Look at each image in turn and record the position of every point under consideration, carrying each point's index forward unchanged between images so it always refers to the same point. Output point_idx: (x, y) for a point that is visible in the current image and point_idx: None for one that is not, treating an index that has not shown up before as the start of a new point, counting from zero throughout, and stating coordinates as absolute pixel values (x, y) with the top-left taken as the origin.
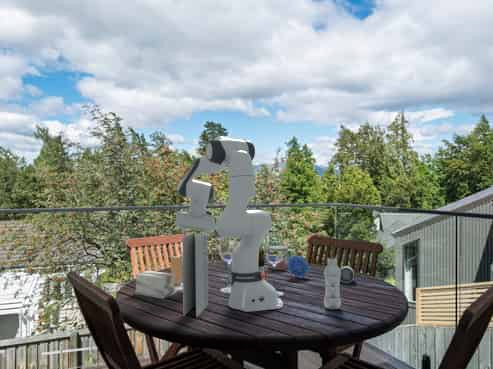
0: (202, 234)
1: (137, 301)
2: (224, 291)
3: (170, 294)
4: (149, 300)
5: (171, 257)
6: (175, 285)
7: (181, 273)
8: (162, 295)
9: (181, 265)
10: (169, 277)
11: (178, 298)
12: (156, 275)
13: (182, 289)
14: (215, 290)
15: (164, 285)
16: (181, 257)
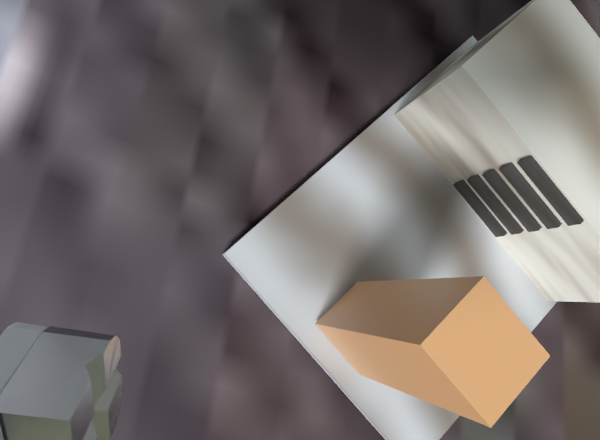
0: (55, 397)
1: None
2: (15, 20)
3: (420, 81)
4: None
5: (540, 347)
6: None
7: (348, 323)
8: (474, 43)
9: (379, 329)
10: (492, 36)
11: (375, 3)
12: (594, 79)
13: (333, 157)
14: (80, 79)
15: (499, 26)
16: (421, 337)
